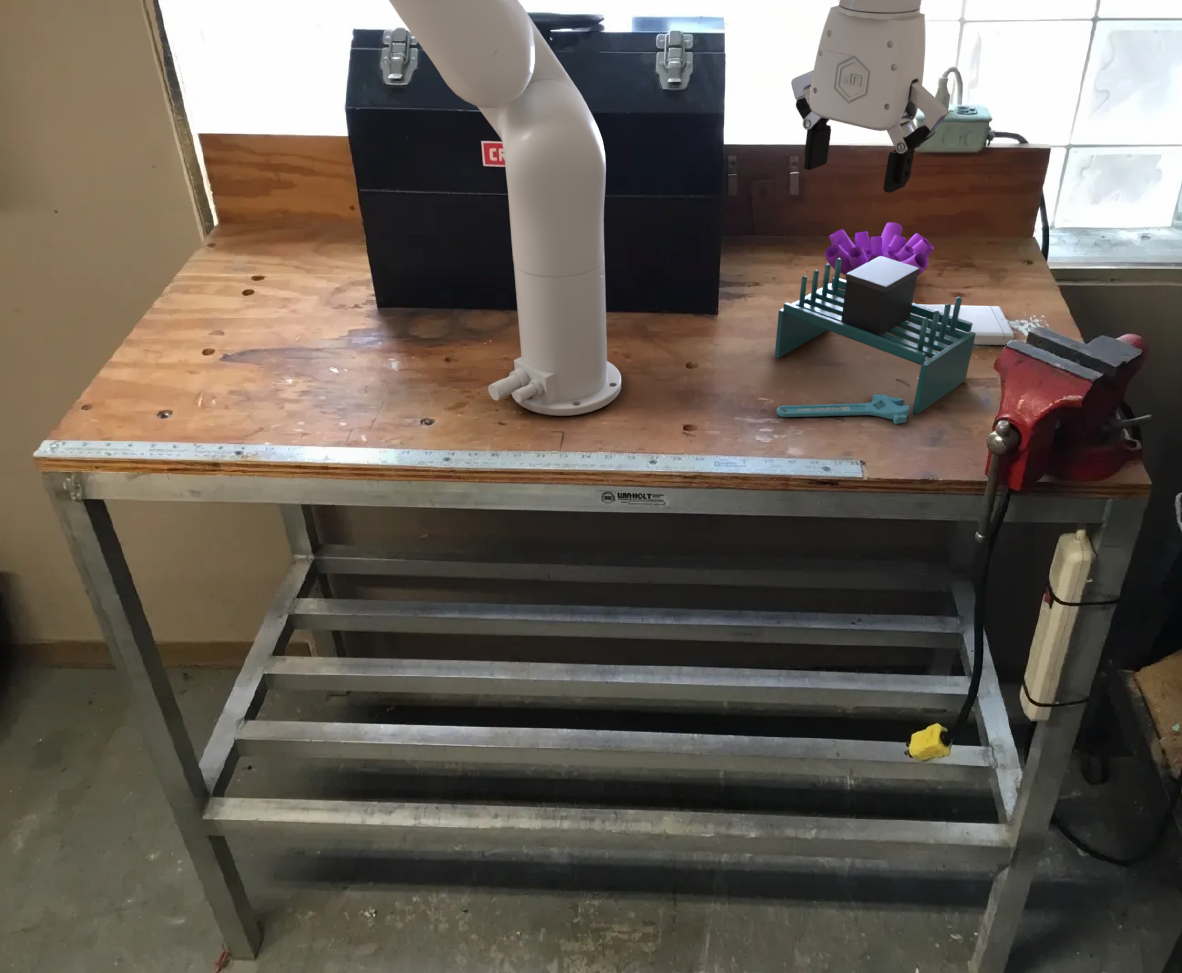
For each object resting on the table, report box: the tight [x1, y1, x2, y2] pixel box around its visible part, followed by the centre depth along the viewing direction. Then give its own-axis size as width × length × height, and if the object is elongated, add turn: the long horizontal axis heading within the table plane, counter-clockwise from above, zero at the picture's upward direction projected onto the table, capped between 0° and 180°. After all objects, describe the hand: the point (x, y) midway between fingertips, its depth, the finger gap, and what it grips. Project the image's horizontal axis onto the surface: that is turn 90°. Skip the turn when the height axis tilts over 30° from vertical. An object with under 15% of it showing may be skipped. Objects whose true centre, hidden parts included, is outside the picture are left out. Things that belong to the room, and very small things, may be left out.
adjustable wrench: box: [776, 393, 911, 425], centre depth 105 cm, size 14×1×5 cm
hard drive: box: [900, 303, 1015, 346], centre depth 120 cm, size 2×8×12 cm
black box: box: [841, 256, 920, 336], centre depth 108 cm, size 7×5×6 cm
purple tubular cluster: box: [824, 222, 934, 277], centre depth 131 cm, size 11×15×10 cm
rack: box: [774, 258, 976, 416], centre depth 111 cm, size 10×19×10 cm, turn 43°
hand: (853, 177), depth 102 cm, fingers open, 9 cm apart
